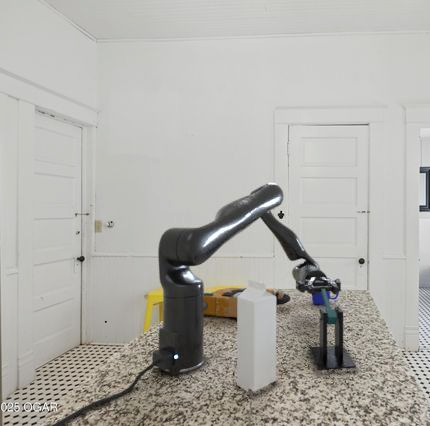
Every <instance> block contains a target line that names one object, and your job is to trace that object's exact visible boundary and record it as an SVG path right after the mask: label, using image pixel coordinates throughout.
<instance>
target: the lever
mask: <svg viewBox="0 0 430 426" xmlns="http://www.w3.org/2000/svg"><path fill="white" fill-rule="evenodd" d="M329 291H330V292H331V291H333V287H332V286H322V287H315V292H321V293H322V296H323V300H324V303H325V305H324V306H325V307H324V308H325V310H326V312H327V326H328V325H329V326H331V325H335V324H336V322H337V315H336V312H335V308H332V306H331V303H330V299H329V300H328V296H327V293H326V292H329Z"/></svg>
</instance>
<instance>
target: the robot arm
mask: <svg viewBox="0 0 430 426" xmlns="http://www.w3.org/2000/svg"><path fill="white" fill-rule="evenodd" d="M284 195H285V194H284V192H283V189H282V188H281V186H280V185H278V184H277V183H275V182H267V183H265V184H263V185H261V186H259V187H258V188H255V189H254V190H252V191H251V192H250V194H249V195H246V196H245V195H244V196H242V197H240V198H237V199H235V200H233V201H230V202H228V203H227V204H225V205H224V206H221V207H220V209H218V210H217V212H216V213H215V217H214V220H213V221H210V222H209V223H207V224H204V225H202V226H198V227H197V226H196V227H170V228H167V229H166V230H165V231H164V232H163V233H162V235H161V237H160V239H159V241H158V248H157V249H158V251H157V254H158V255H157V257H158V277H159V278H158V279H159V284H160V287H161V288H162V299H163V300H162V327H160V328H159V329H158V349H157V350H155V351H152V353H151V354H152V355H151V357H152V358H151V359H152V361H151V364H150V365H148V366H146V367H145V368H144V369H143V370H142V371H141V372H140V373H139V374H138V375H137V376H136V377H135V379H134V380H133V382H132V383H131V384H130V385H129V387H127V388H125V389H124V390H123V391H120V392H119V393H116V394H114V395H110V396H108V397H104V398H102V399H98V400H96V401H94V402H91V403H89V404H87V405H85V406H83V407H81V408H80V409H78V410H76V411H74V412H73V413H71V414H69V415H67V416H66V417H64V418H62V419H60V420H58V421H57V422H54V423H53V424H52V425H51V426H62V425H65V423H67V422H68V421H70V420H72V419H73V418H75V417H77V416H79V415H81V414H83V413H85V412H86V411H89V410H90V409H92V408H94V407H96V406H99V405H101V404H102V405H103V404H105V403H108V402H111V401H114V400H116V399H118V398H120V397H122V396H124V395H126V394H128V393H129V392H130V391H132V390H133V389H134V388H135V386H137V384H138V382H139V381H140V379H141V378H142V377H143V376H144V375H145V374H146V373H147V372H148V371H150V370H151V369H153V368H155V367H156V368H158V370H160V371H162V372H165V373H167V374H170V375H172V376H178V375H180V374H186V373H189V372H192V371H195V370H197V369H199V368H200V367H201V366H203V364H204V362H205V357H204V348H205V347H204V344H205V343H204V327H205V325H204V324H205V323H204V322H205V321H204V320H205V319H204V318H205V315H204V293H205V285H204V281H203V279H201V278H199V277H198V276H196V275H195V274H194V273H193V271H192V270H191V267H197V266H200V265H203V264H204V263H205V262H207V261H208V260H209V259H211V257H212V256H214V254H216V253H217V252H218V250H219V249H221V248H222V247H223V246H224V245H225V244H227V243H228V242H229V241H230V240H232V239H234V237H236V236H237V235H239V234H240V233H242V232H244V231H245V230H247V229H248V228H249V227H250V226H252V225H253V224H254V223H256V221H258V220H259V219H261V220H262V222H263V223H264V224H265V226H266V227H267V228H268V229H269V231H270V232H271V233H272V235H273V236H274V237H275V239H276V240H277V242H278V243H279V245H280V247H281V248H282V250H283V252H284V253H285V255H286V257H287V259H288V260H289V261H291V262H296V261H298V260H303V261H302V262H300V263H299V264H296V265H295V266H294V267H293V268H292V270H291V275H292V278H293V280H294V281H295V290H297V291H299V292H300V293H302V294H304V293H306V292H307V293H308V294H309V295H311V296H312V295H315V294H318V293H321V292H315V287H322V286H332V287H333V291H329V292H330V293H332V295H335V296H336V295H337V293H338V291H339V292H341V291H342V282H341V279H340V278H336V279H334V280H332V279H331V278H329V277H327V275H326V273H325V272H324V271H322V270H321V267H320V264H319V263H318V262H317V261H316V260H315V259H314V258H313V257H312V256H311V255H310V254H309V253H308V251H306V249H305V248H304V246H303V244H302V242H301V240H300V238H299V237H298V235H297V233H295V232H294V230H292V229H291V228H289V227H288V226H286V225H285V224H283V223H282V222H281V221H280V220H279V219H277V218H276V217H275V215H274V214H273V211H272V210H274V209H276V208H278V207H280V206H281V205H282V204H283V202H284V198H285V197H284ZM328 278H329V279H328ZM330 279H331V280H330ZM307 293H306V294H307Z"/></svg>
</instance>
